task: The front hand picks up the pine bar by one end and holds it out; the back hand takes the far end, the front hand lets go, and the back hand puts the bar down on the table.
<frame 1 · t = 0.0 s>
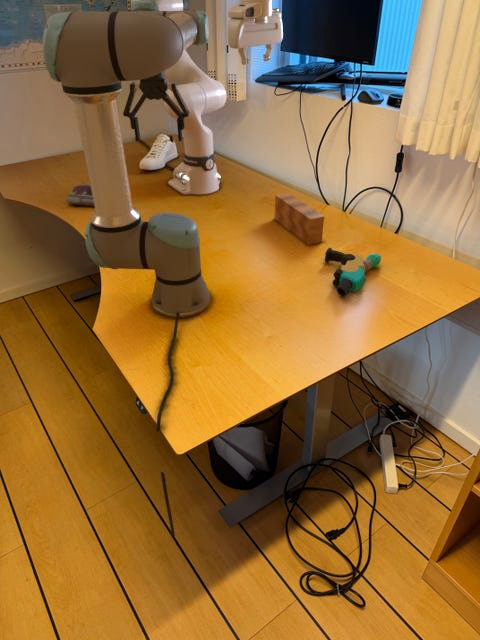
front hand: (159, 140, 150), 28 cm above the table, tool pointing down, fingers open, 13 cm apart
back hand: (256, 62, 146), 48 cm above the table, tool pointing down, fingers open, 8 cm apart
sneaker: (158, 164, 218), on the table
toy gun: (93, 201, 183), on the table
toy gun 2: (343, 277, 135), on the table
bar: (297, 230, 160), on the table
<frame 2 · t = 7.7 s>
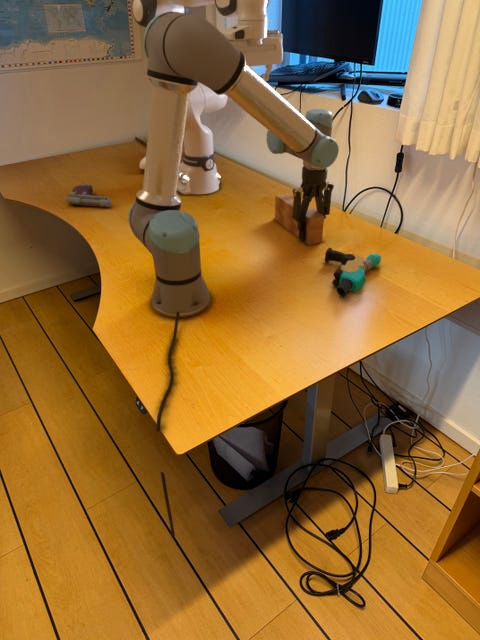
front hand: (309, 237, 154), 1 cm above the table, tool pointing down, fingers closed on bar, 5 cm apart
back hand: (252, 82, 151), 42 cm above the table, tool pointing down, fingers open, 8 cm apart
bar: (297, 230, 160), on the table, touching front hand
everything else where it was.
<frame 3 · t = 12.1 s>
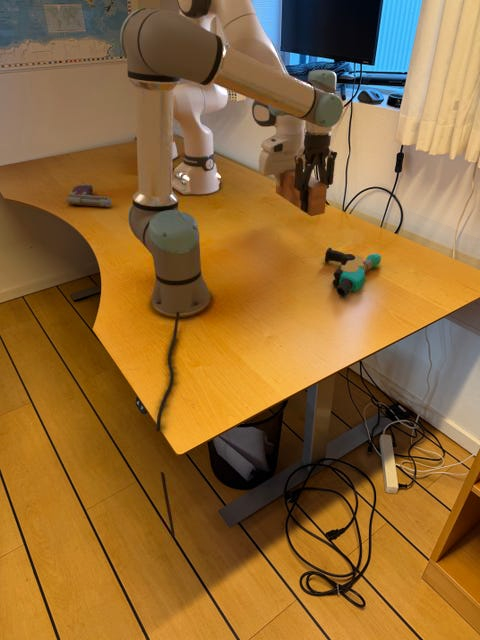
front hand: (311, 209, 148), 10 cm above the table, tool pointing down, fingers closed on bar, 5 cm apart
back hand: (287, 184, 158), 13 cm above the table, tool pointing down, fingers closed on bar, 5 cm apart
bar: (298, 202, 154), point 10 cm above the table, touching front hand, back hand
everything else where it was.
when the front hand's fingers open (10 cm above the table, at t = 13.0 s): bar stays where it is, held by the back hand.
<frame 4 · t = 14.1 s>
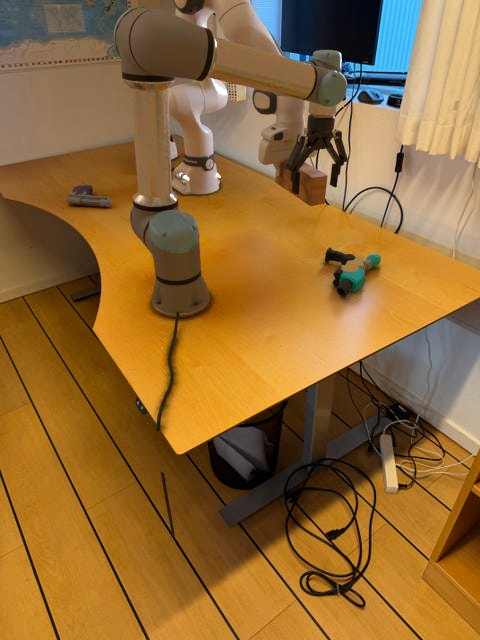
front hand: (314, 189, 144), 17 cm above the table, tool pointing down, fingers open, 13 cm apart
back hand: (287, 173, 156), 17 cm above the table, tool pointing down, fingers closed on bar, 5 cm apart
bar: (298, 192, 153), point 13 cm above the table, touching back hand
everything else where it was.
when the back hand's fingers open (5 cm above the table, at t = 24.8 s): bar stays where it is, on the table.
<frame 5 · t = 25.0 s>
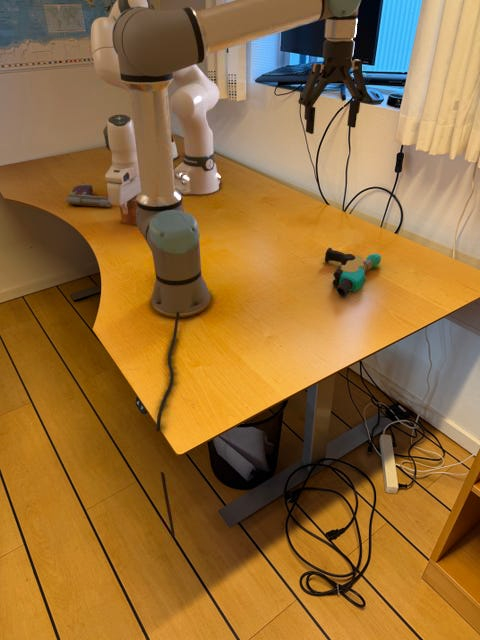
front hand: (330, 129, 129), 36 cm above the table, tool pointing down, fingers open, 13 cm apart
back hand: (133, 208, 165), 5 cm above the table, tool pointing down, fingers open, 7 cm apart
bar: (153, 224, 165), on the table
everything else where it was.
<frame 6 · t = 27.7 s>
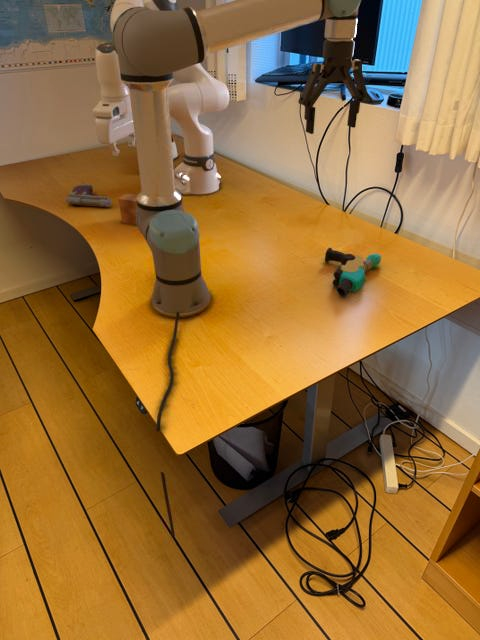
front hand: (330, 129, 129), 36 cm above the table, tool pointing down, fingers open, 13 cm apart
back hand: (124, 151, 153), 24 cm above the table, tool pointing down, fingers open, 8 cm apart
nothing on the table moved.
at the end: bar inside the target area (7.4 cm from its centre), on the table; the front hand is holding nothing; the back hand is holding nothing; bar at rest at the end (0.0 cm/s) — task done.
